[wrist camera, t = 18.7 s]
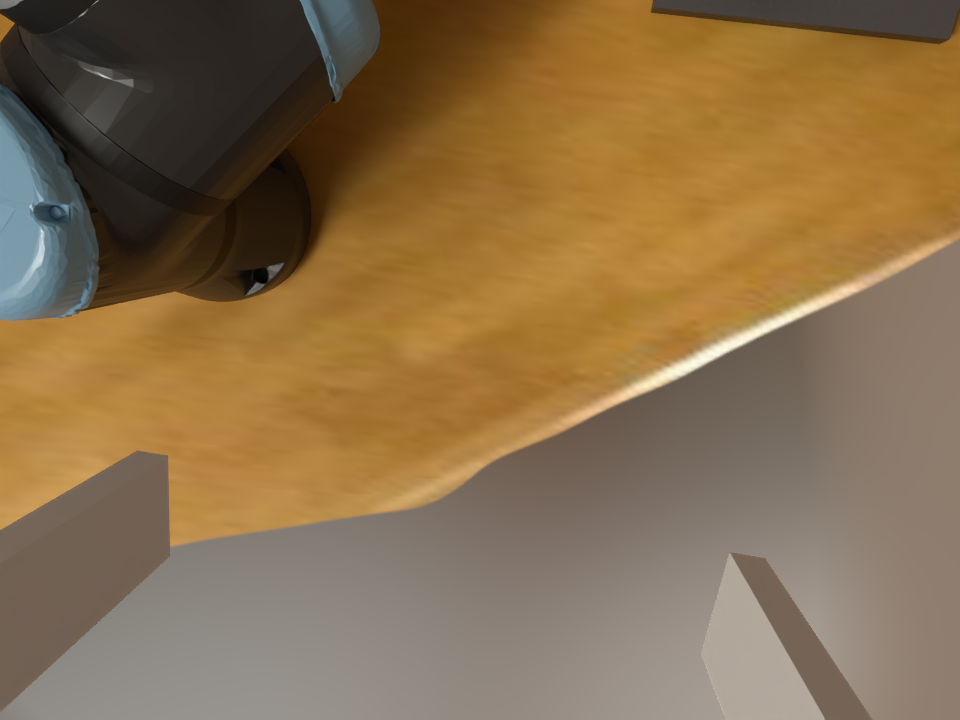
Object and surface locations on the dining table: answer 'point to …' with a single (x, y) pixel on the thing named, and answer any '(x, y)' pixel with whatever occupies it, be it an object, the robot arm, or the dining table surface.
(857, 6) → the plate
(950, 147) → the dining table surface
